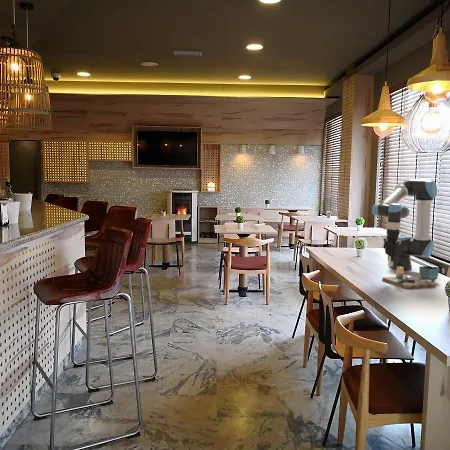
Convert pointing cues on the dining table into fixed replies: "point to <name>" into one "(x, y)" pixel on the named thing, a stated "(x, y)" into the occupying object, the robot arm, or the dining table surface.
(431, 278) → the flower pot
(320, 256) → the dining table surface
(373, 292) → the dining table surface
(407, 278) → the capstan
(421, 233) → the robot arm
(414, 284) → the base plate
